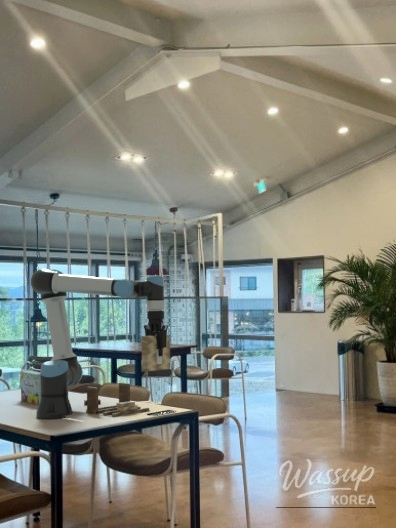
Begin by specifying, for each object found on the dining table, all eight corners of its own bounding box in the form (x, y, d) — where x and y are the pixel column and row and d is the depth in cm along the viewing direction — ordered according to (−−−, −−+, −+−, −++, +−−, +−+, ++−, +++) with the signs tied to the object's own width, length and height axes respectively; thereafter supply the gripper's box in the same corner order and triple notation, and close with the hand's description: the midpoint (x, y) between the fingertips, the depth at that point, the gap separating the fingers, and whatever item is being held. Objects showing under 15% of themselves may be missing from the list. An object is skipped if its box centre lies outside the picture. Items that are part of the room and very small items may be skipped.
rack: (111, 419, 271) (111, 390, 272) (83, 415, 284) (83, 387, 285) (151, 412, 287) (150, 385, 288) (122, 408, 300) (122, 382, 301)
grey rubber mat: (153, 416, 279) (153, 415, 279) (136, 413, 287) (136, 412, 287) (176, 411, 289) (176, 410, 289) (159, 409, 297) (159, 408, 297)
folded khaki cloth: (146, 371, 283) (146, 336, 284) (141, 370, 285) (141, 336, 286) (170, 368, 293) (169, 335, 294) (165, 368, 295) (164, 334, 296)
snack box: (19, 400, 333) (20, 370, 334) (30, 399, 337) (30, 370, 338) (36, 405, 316) (36, 373, 317) (47, 404, 320) (47, 373, 321)
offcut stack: (122, 414, 277) (122, 404, 277) (115, 413, 280) (115, 403, 280) (138, 412, 284) (138, 401, 284) (131, 411, 287) (131, 400, 287)
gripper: (174, 310, 288) (175, 364, 287) (149, 310, 299) (149, 362, 298) (162, 310, 283) (162, 365, 281) (137, 310, 294) (137, 363, 292)
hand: (156, 363), depth 289 cm, fingers closed on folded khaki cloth, 3 cm apart
